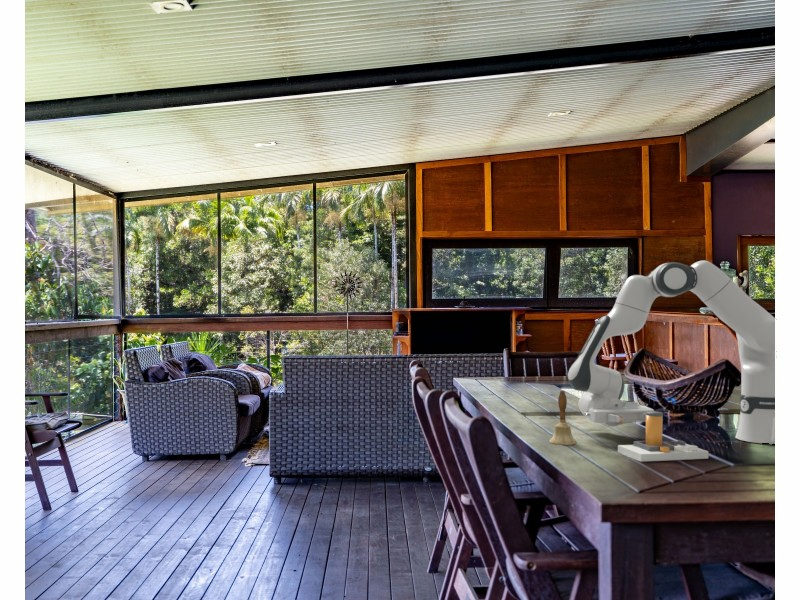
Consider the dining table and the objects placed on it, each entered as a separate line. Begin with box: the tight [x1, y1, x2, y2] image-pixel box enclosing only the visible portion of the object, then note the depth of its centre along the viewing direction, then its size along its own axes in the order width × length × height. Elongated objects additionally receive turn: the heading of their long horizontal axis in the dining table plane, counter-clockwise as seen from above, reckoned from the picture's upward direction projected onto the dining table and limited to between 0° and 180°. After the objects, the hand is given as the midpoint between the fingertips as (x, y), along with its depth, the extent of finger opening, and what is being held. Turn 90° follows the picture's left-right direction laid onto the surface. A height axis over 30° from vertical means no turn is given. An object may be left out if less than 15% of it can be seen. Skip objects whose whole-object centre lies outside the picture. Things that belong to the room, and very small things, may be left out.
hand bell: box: [548, 390, 578, 446], centre depth 215 cm, size 8×8×16 cm
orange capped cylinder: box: [644, 410, 664, 446], centre depth 198 cm, size 4×4×10 cm
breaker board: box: [617, 440, 709, 462], centre depth 198 cm, size 21×12×3 cm, turn 102°
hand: (634, 419), depth 208 cm, fingers open, 8 cm apart
